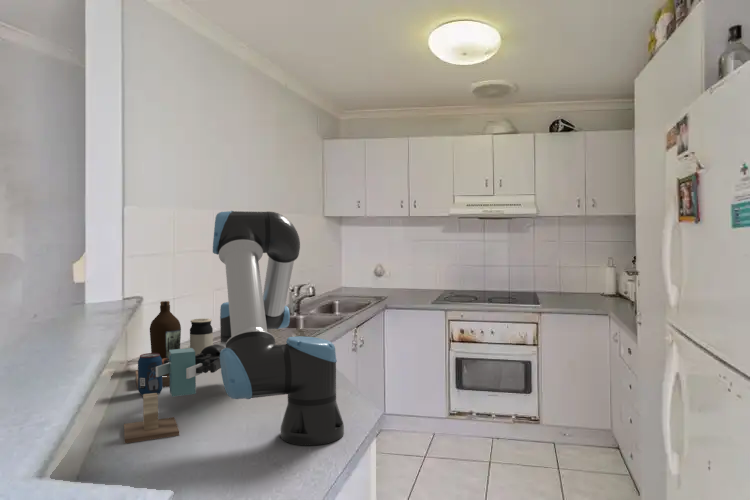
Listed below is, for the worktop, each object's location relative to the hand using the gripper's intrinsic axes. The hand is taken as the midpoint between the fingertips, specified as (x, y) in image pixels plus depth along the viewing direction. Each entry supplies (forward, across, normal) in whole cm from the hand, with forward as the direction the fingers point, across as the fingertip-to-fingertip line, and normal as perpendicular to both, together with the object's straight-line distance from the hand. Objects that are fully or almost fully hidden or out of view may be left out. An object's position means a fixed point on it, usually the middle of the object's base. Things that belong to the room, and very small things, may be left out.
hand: (172, 372), depth 149 cm
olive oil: (-46, +35, -11) cm, 59 cm away
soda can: (-18, +20, -11) cm, 29 cm away
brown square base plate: (+12, -2, -12) cm, 17 cm away
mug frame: (-32, +25, -11) cm, 42 cm away
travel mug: (-50, +23, -11) cm, 57 cm away
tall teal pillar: (-5, 0, -6) cm, 8 cm away
